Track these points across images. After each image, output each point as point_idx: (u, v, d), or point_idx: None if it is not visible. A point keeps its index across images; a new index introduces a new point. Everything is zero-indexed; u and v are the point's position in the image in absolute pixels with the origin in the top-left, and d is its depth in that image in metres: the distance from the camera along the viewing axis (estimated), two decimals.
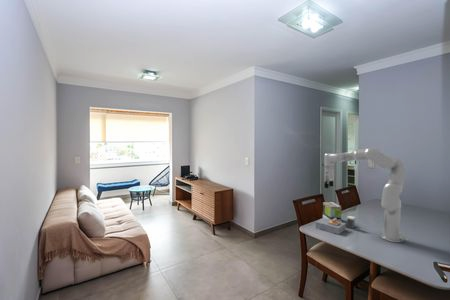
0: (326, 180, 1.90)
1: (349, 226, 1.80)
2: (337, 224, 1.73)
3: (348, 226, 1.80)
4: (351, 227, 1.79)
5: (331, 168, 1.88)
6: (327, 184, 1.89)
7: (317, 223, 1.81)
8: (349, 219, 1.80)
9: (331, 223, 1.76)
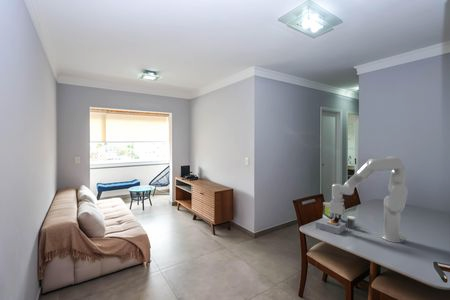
0: None
1: (349, 226, 1.80)
2: (336, 224, 1.74)
3: (348, 226, 1.80)
4: (351, 227, 1.79)
5: None
6: None
7: (317, 223, 1.81)
8: (349, 219, 1.80)
9: (330, 223, 1.77)
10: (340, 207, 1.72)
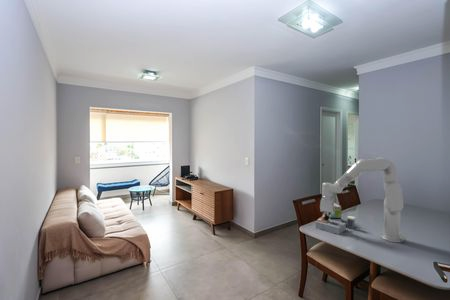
0: None
1: (349, 226, 1.80)
2: (326, 221, 1.80)
3: (348, 226, 1.80)
4: (351, 227, 1.79)
5: None
6: None
7: (317, 223, 1.81)
8: (349, 219, 1.80)
9: (320, 220, 1.82)
10: (330, 205, 1.78)
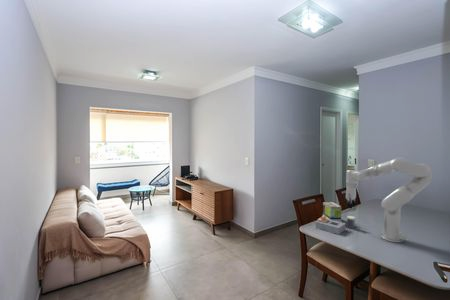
0: None
1: (349, 226, 1.80)
2: (326, 221, 1.80)
3: (348, 226, 1.80)
4: (351, 227, 1.79)
5: None
6: (351, 202, 1.83)
7: (317, 223, 1.81)
8: (349, 219, 1.80)
9: (320, 220, 1.83)
10: (355, 191, 1.80)
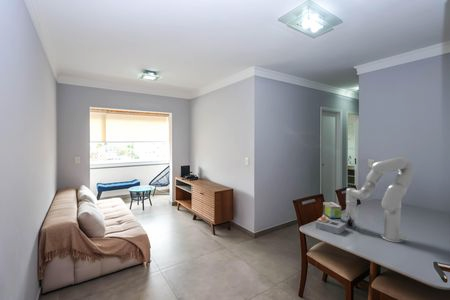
0: None
1: (349, 226, 1.80)
2: (326, 221, 1.80)
3: (348, 226, 1.80)
4: (351, 227, 1.79)
5: None
6: None
7: (317, 223, 1.81)
8: None
9: (320, 220, 1.83)
10: (355, 209, 1.81)
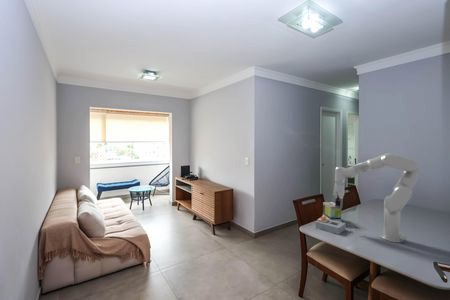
0: None
1: None
2: (326, 221, 1.80)
3: (336, 205, 1.78)
4: (339, 206, 1.76)
5: None
6: None
7: (317, 223, 1.81)
8: None
9: (320, 220, 1.83)
10: (344, 188, 1.78)
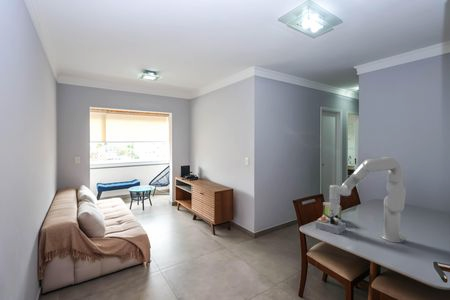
0: None
1: None
2: (326, 221, 1.80)
3: None
4: None
5: None
6: (335, 217, 1.81)
7: (317, 223, 1.81)
8: None
9: (320, 220, 1.83)
10: None
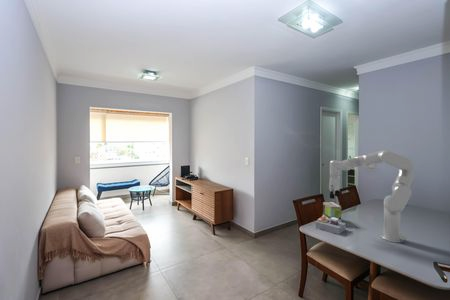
0: None
1: None
2: (326, 221, 1.80)
3: None
4: None
5: None
6: None
7: (317, 223, 1.81)
8: (332, 220, 1.77)
9: (320, 220, 1.83)
10: (339, 182, 1.77)
